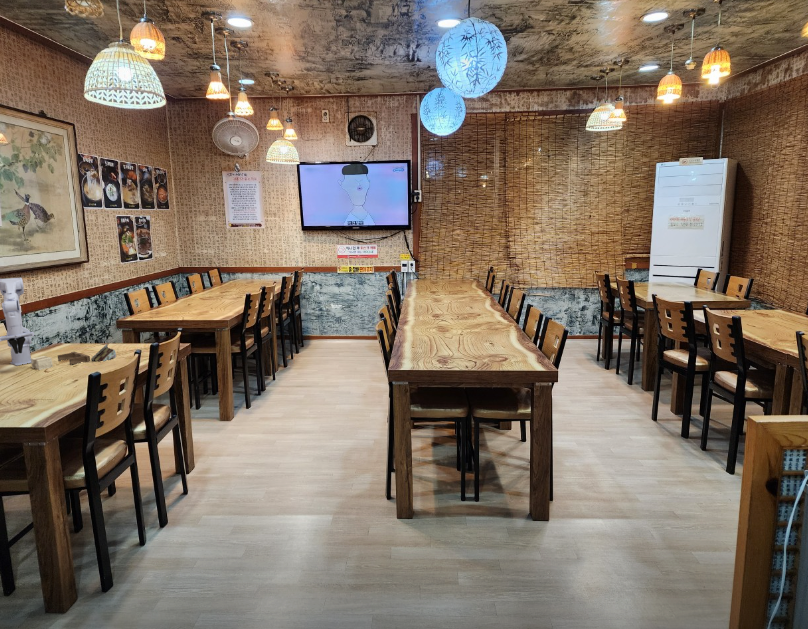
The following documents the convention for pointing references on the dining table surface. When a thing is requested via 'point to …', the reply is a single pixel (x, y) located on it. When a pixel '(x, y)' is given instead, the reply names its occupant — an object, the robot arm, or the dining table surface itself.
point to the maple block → (41, 362)
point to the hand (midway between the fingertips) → (18, 353)
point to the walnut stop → (74, 357)
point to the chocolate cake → (104, 354)
